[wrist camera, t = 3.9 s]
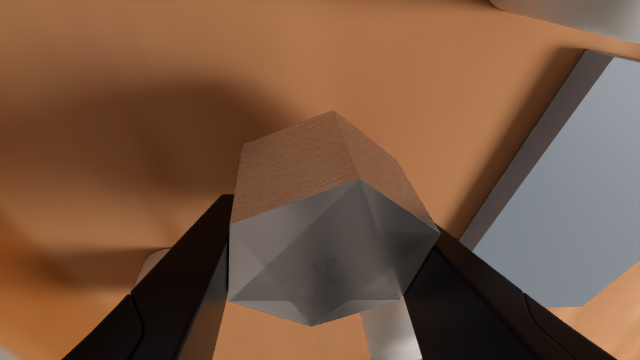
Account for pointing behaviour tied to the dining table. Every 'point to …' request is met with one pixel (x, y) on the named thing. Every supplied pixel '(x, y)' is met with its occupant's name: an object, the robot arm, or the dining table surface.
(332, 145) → the grey faceted polyhedron
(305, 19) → the dining table surface
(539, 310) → the robot arm
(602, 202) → the board
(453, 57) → the dining table surface
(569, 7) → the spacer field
